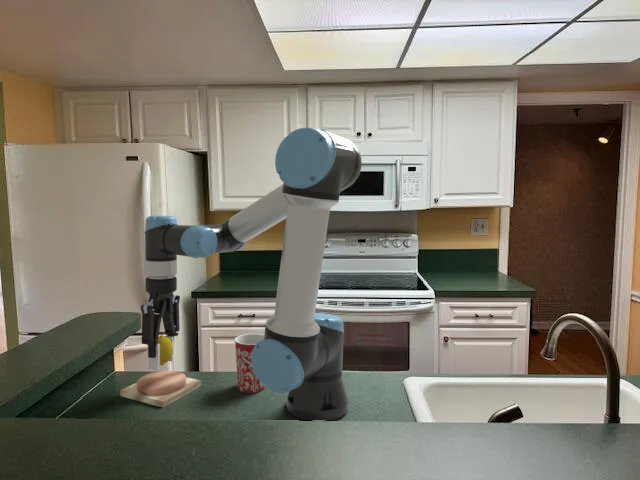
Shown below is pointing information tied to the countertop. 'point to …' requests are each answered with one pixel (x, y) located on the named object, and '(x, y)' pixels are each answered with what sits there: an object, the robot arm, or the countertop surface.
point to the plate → (160, 388)
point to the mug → (247, 363)
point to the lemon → (165, 349)
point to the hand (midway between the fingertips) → (161, 364)
